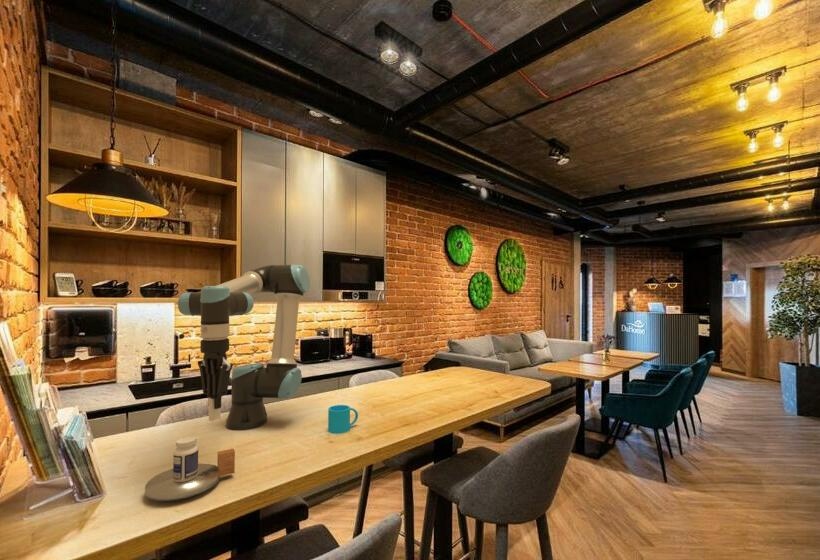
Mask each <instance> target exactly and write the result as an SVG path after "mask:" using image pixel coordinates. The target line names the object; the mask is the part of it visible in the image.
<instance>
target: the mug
mask: <svg viewBox="0 0 820 560" xmlns="http://www.w3.org/2000/svg"><path fill="white" fill-rule="evenodd" d="M351 411H353V412H354V414H355V417H354V420H352V421H351ZM327 413H328V414H327V416H328V418H327V419H328V420H327V426H328V427H327V429H328V430H327V431H328V433H330V434H345V433H348V432H349V431H350V430H351V427H352V426H353V425H354V424H355V423H356V422H357V420H358V418H359V413H358V411H357V410H356V409H355V408H353V407H351V406H350V405H345V404H337V405H331V406H330V407H328V412H327Z"/></svg>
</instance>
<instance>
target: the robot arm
mask: <svg viewBox="0 0 820 560" xmlns="http://www.w3.org/2000/svg"><path fill="white" fill-rule="evenodd" d="M308 272H309V271H308V270H307V269H306V266H305V267H304V265H302V264H294V263H292V264H277V265H276V264H269V265H264V266H259V267H257V268H254V269H251V270H248V271H246V272H244V273H243V274H242V275H241V276H239V277H236V278H234V279H231V280H227V281H225V282H223V283H220V284H217V285H206V286H203V287H202V288H201V290H200V291H197V292H194V291H189V292H184V293H182V294H181V295H180V296H179V298H178V299H177V308H178V311H179V312H180V314H182V315H183V316H191V317H194V316H195V317H197V316H199V317H200V338H201V341H200V346H199V347H200V348H199V349H200V353H202V354H203V357H202V359H201V360H198V361H197V365H198V369H199V372H200V373H199V374H200V381H201V387H202V388H201V389H202V392H203V393H202V394H204V395H206V397H207V399H208V401H207V402H208V405H207V406H208V421H210V422H213V421H216V420H220V419H221V418H222V416H221V414H222V412H221V410H222V397H223V396H226V395H228V389H229V383H230V381H231V402H230V403H231V405H230V409H229V412H228V415H227V418H226V420H225V423H226V424H225V427H226V428H227V429H228V430H229V429H230V430H237V431H240V430H244V431H245V430H250V429H255V428H260V427H261V426H264V425H265V424H267V422H268V413H267V410H266V407H265V404H264V398H265V399H279V400H282V399H292V398H294V396H295V395H296V394H297V393H298V391H299V390H300V387H301V383H302V378H303V375H302V370H301V369H300V368H299V367H298V363H297V361H296V360H295V359H294V358H295V351H296V350H295V349H296V337H297V328H298V327H297V326H298V316H299V305H300V301H301V300H302V299H303V298H304V294H306V293H307V292H308V291H309V289H310V287H311V285H310V283H311V281H310V275H309V273H308ZM259 293H274V294H273V295H274V297H275V298H276V300H277V301H276V311H275V319H274V321H275V322H274V329H273V339H272V341H273V342H272V349H271V358H269V360H268V361H267V362H266V367H265V364H264V363H262V362H255V363H250V364H244V365H239V366H237V367H235V368H233V366H234V364H233V362H231V363H229V362H228V357H227V352H228V351H229V350H230V338H228V337H230V317H235V316H243V315H247V314H249V313H250V312H251V311H252V310H253V309H254V304H255V303H254V298H253V296H252V295H257V294H259ZM231 371H232V372H231ZM230 377H231V379H230Z"/></svg>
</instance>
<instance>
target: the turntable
mask: <svg viewBox="0 0 820 560" xmlns="http://www.w3.org/2000/svg"><path fill="white" fill-rule="evenodd" d="M235 456H236V450H235V448H229V449H224V450H219V451H217V465H215V464H212V463H211V464H210V463H198V475H197V476H196V477H195V478H194V479H192V480H189V481H185V482H175V481H174V480H173V468H171V469H168V470H166V471H163V472H161V473H159V474H157V475H155V476H154V477H152V478H151V479H149V480H148V481H147V482H146V484H145V485H144V487H145V488H144V495H145V497H146V498H147V499H148V500H151V501H154V502H155V501H156V502H174V501H173V500H176V501H180V500H179V499H182V500H185V499H184V498H186V499H188V498H187V497H190V498H191V496H192V497H194V495H195V496H196V495H199V494H202V493H204V492H206V491H207V490H210V489H211V488H213V487H214V486H215V485H216V484H217V483H218V482H219V481H220V480H221V477H224V476H229V475H231V474H235V465H236V464H235V461H236V460H235V459H236V457H235Z"/></svg>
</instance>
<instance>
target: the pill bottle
mask: <svg viewBox="0 0 820 560" xmlns="http://www.w3.org/2000/svg"><path fill="white" fill-rule="evenodd" d="M196 443H197V437H196V436H185V437H182V438H178V440H176V441H175V447H176V448H175V450H174V451H173V456H172V457H173V459H172V461H173V463H172V469H173V480H174V481H175V482H185V481H189V480H192V479H194V478H195V477H196V476H197V475H198V464H199V447H198V445H197V444H196Z"/></svg>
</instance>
